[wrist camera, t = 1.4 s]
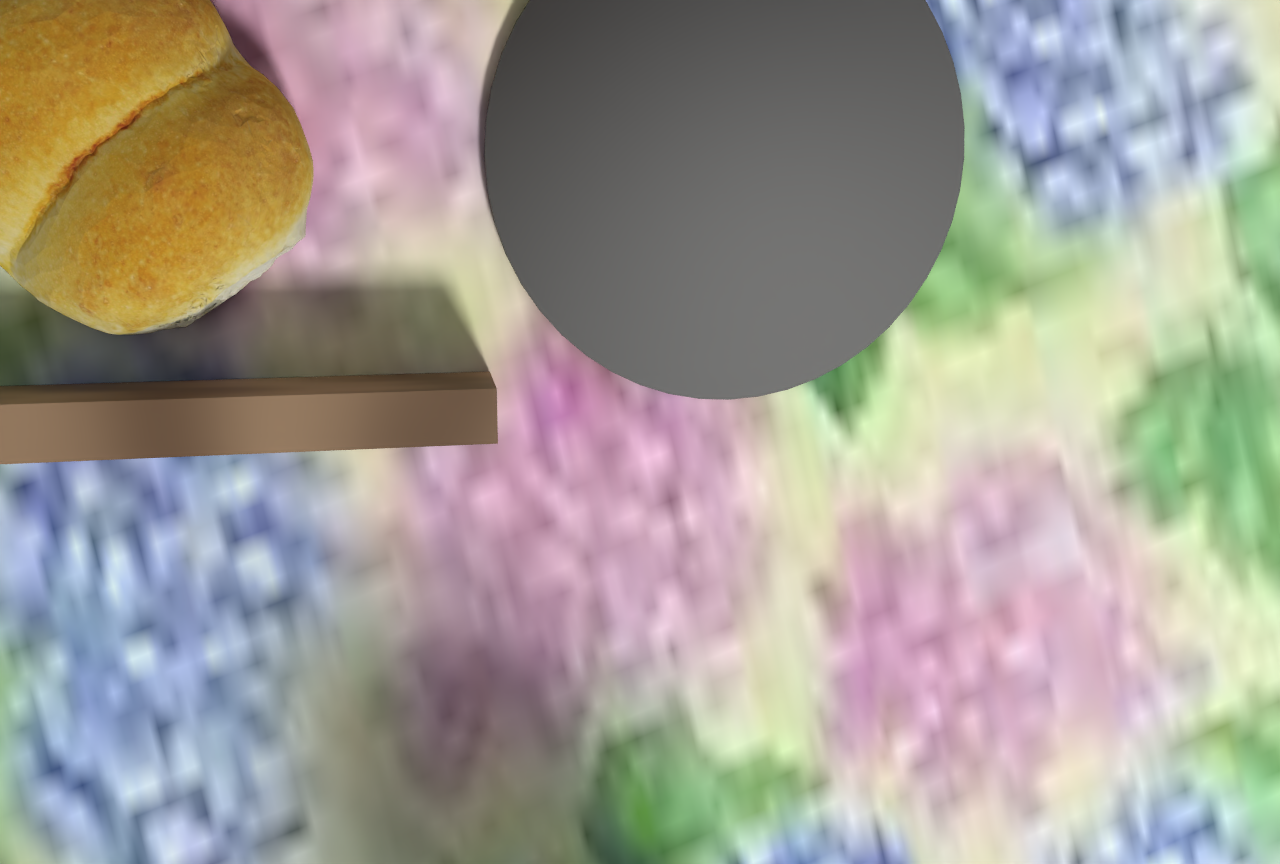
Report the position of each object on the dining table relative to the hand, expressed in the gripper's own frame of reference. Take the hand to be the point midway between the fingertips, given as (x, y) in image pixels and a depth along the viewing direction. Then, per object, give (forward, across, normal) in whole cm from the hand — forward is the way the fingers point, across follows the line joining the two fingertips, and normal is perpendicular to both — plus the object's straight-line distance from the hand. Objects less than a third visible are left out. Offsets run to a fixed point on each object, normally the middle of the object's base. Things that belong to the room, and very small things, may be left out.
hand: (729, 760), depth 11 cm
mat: (+23, +8, +4) cm, 25 cm away
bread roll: (+24, -8, +8) cm, 26 cm away
